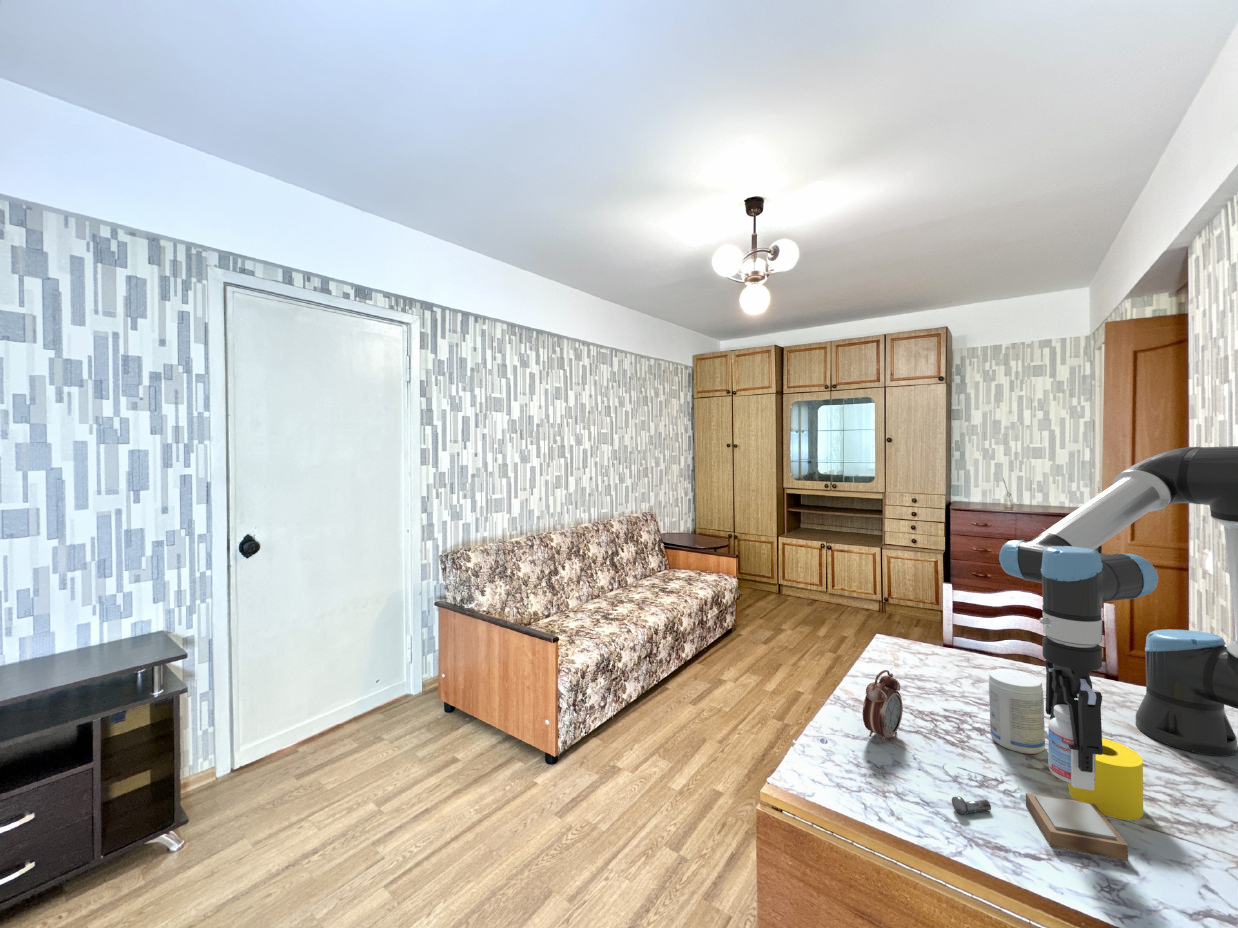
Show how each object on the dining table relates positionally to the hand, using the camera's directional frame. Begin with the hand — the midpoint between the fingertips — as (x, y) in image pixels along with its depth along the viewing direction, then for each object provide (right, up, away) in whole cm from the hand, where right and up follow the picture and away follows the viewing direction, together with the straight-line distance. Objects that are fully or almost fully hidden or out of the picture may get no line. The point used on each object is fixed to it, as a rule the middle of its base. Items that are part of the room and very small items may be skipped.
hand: (1072, 774), depth 87 cm
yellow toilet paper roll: (+13, -10, +8) cm, 18 cm away
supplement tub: (+11, -9, +26) cm, 30 cm away
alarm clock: (-16, -10, +31) cm, 36 cm away
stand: (0, -10, 0) cm, 10 cm away
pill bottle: (0, -1, 0) cm, 1 cm away
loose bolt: (-12, -10, +6) cm, 17 cm away
